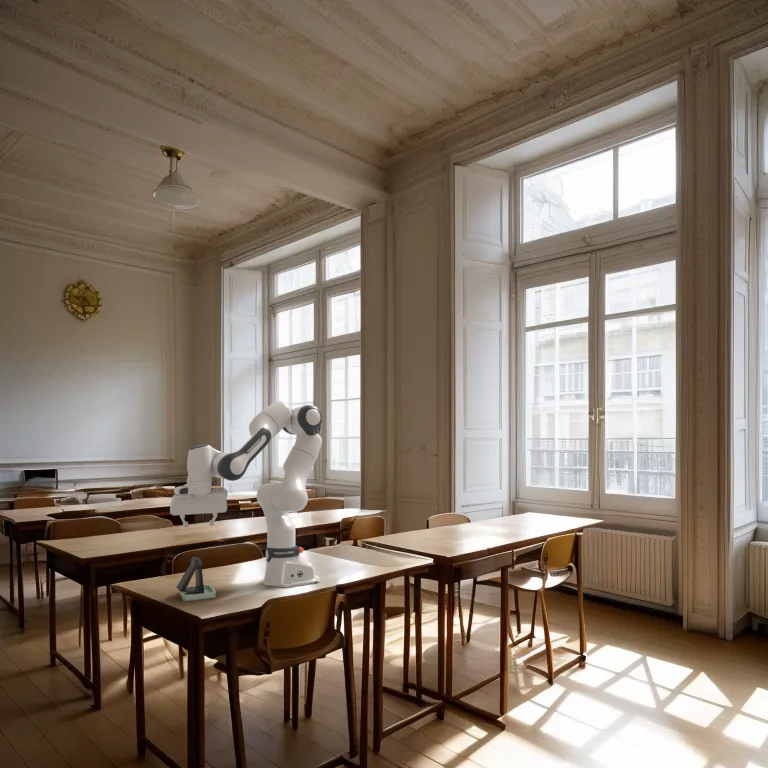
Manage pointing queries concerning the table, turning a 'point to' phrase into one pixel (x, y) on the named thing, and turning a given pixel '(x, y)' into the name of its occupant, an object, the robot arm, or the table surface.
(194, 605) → the table surface
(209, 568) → the table surface
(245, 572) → the table surface
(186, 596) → the tray
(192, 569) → the dark grey a-shaped stand
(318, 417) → the robot arm
